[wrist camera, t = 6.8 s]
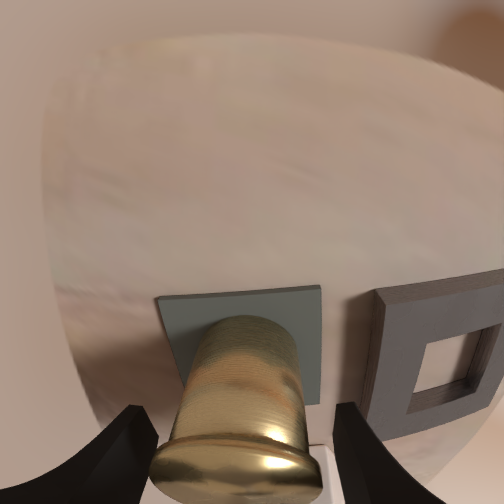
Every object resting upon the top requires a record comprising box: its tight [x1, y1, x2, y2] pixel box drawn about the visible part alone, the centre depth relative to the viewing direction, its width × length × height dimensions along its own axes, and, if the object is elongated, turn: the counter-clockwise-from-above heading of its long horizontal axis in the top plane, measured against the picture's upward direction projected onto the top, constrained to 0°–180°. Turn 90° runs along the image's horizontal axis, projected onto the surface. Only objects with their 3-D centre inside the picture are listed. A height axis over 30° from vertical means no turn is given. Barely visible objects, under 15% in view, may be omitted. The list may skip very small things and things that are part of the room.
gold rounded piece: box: [148, 315, 323, 504], centre depth 10 cm, size 5×5×7 cm
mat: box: [158, 285, 322, 406], centre depth 13 cm, size 7×7×1 cm
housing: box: [359, 269, 504, 442], centre depth 13 cm, size 10×10×2 cm
